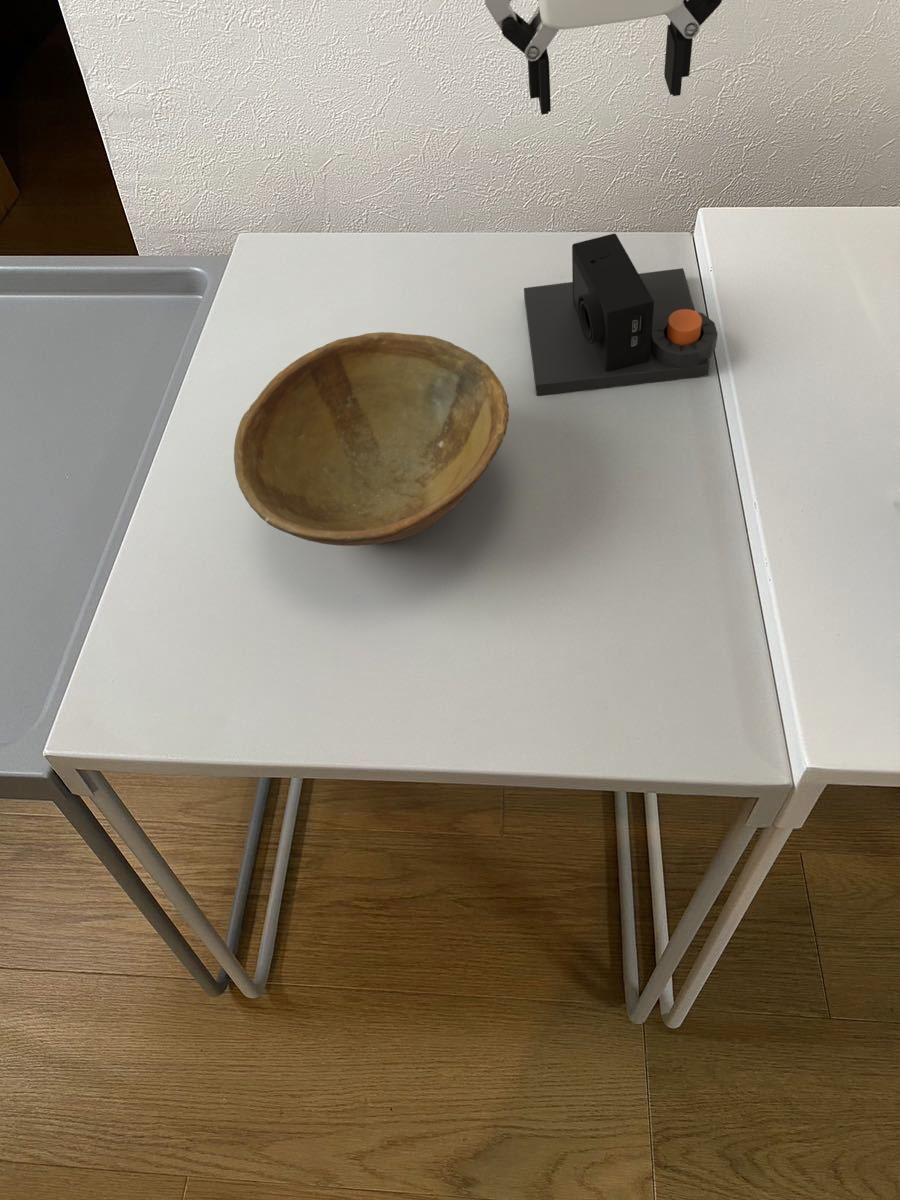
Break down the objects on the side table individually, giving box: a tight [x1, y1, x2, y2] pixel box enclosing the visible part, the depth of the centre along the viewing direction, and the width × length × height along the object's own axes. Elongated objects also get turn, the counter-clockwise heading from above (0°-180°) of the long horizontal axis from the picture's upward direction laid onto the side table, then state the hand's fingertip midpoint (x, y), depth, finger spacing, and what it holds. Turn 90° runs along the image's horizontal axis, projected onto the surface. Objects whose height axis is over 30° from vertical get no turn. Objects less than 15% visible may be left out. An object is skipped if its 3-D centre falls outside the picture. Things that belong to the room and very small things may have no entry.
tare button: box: [667, 309, 702, 346], centre depth 85 cm, size 3×3×2 cm
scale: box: [523, 267, 719, 396], centre depth 90 cm, size 17×14×3 cm
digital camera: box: [571, 233, 654, 371], centre depth 86 cm, size 10×5×7 cm, turn 13°
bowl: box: [233, 331, 510, 547], centre depth 79 cm, size 22×23×10 cm
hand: (607, 95), depth 70 cm, fingers open, 9 cm apart
